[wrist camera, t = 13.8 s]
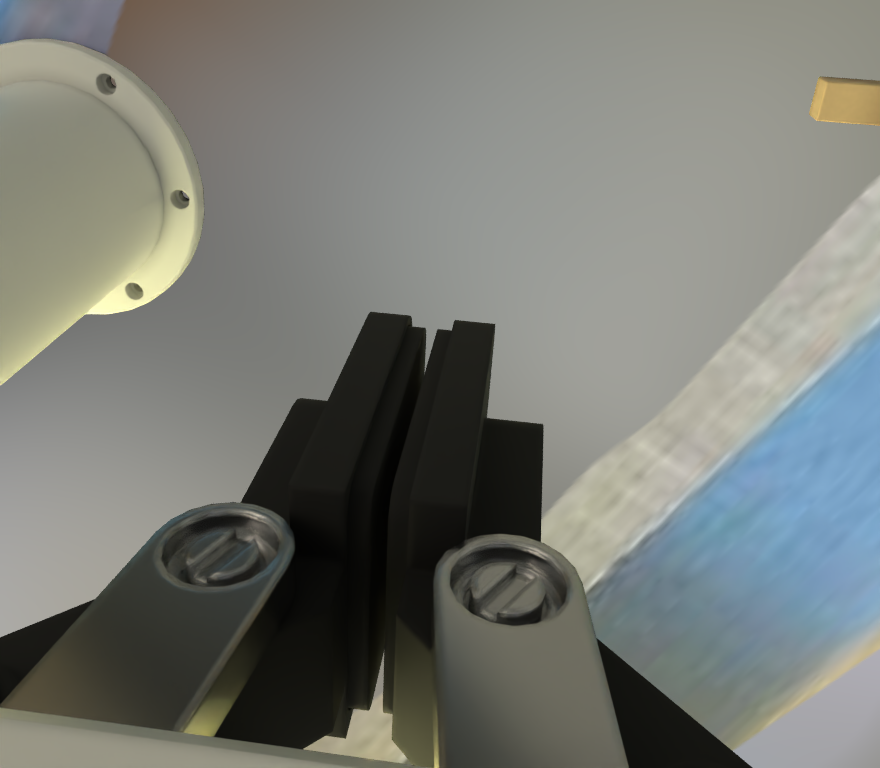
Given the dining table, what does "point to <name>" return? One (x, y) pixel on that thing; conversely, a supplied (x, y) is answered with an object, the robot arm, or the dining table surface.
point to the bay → (846, 101)
